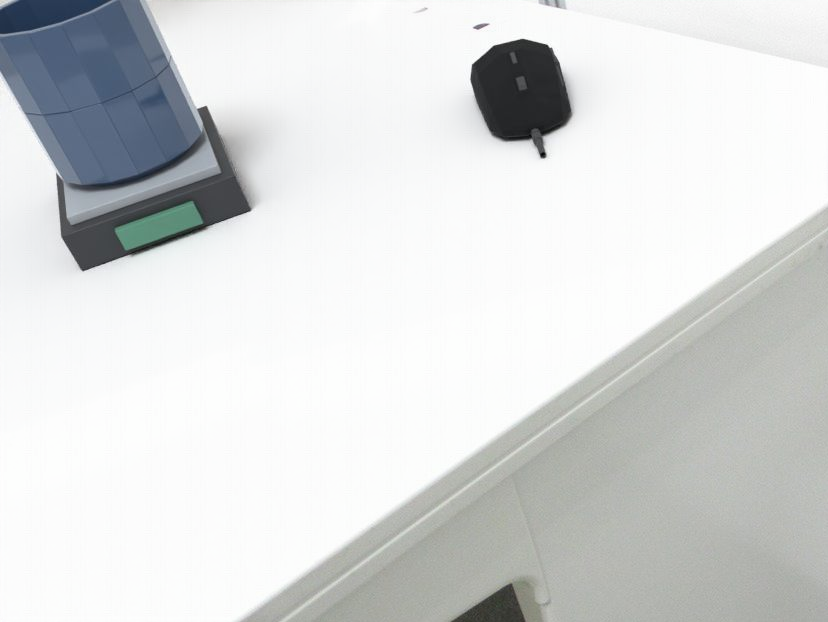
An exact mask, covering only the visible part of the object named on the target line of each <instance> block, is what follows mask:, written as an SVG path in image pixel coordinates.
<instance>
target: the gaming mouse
mask: <svg viewBox="0 0 828 622" xmlns="http://www.w3.org/2000/svg"><path fill="white" fill-rule="evenodd" d="M469 80H470V85H471V88H472V91H473V95H474V98H475V101H476V104H477V106H478V108H479V110H480V113H481V115H482V117H483V120H484V122H485V124H486V126H487V128H488V129H489V131H490V133H492V134H494V135H497V136H499V137H503V138H505V139H506V138H517V137H527V136H531V139H532V142H533V144H534V145H535V146H536V148H537V151H538V154H539V156H540V158H543V159H544V158H546V157H547V152H546V150H545V147H544V144H543V141H544V139H543V136H542V132H546V131H548V130H550V129H552V128H554V127H556V126H558V125H561V124H562V123H564V122H565V120H566V119H567V118H568V116H569V115H570V113H571V111H572V107H571V102H570V98H569V97H570V96H569V94H568V89H567V86H566V82H565V78H564V74H563V71H562V66H561V63H560V60H559V59H558V57H557V56H556V54H555V51H554V49H553V47H552V46H551V47H550V46H549V45H548V44H546V43H543V42H538V41H534V40H531V39H526V38H519V39H516V40H510V41H506V42H503V43H499V44H494V45H492V46H491V47H490V48H489V49H488V50H487V51H486V52H485V53H483V54H482V55H481V56H480V57H478V59H476V60H475V61H473V63H471V69H470V79H469Z"/></svg>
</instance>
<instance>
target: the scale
mask: <svg viewBox="0 0 828 622" xmlns="http://www.w3.org/2000/svg"><path fill="white" fill-rule="evenodd" d="M195 107H196V109H197V111H198V113H199V115H200V118H201V120H202V122H203V128H202V134H201V136H200V137H199V138H198V139H197V140H196V141H195V142H194V143H193V144H192V146H191V148H190V149H189V150H188V151H187V152H186V153H185V154H184V155H183V156H182V157H181V158H179V159H178V160H176V161H175V162H174V163H172V164H170V165H169V166H167V167H165V168H163V169H161V170H159V171H157V172H155V173H152V174H150V175H148V176H145V177H142V178H139V179H136V180H133V181H130V182H126V183H121V184H116V185H110V186H89V185H79V184H73V183H67V182H64V181H63V180H62V179H61V178H60V177H59V175H58V174H57V173H56V172H55V179H56V191H57V203H58V204H57V205H58V214H59V227H60V237H61V239H62V241H63V243H64V245H65V246H66V248H67V249H68V251H69V252H70V254H71V256H72V257H73V259H74V261H75V262H76V264H77V266H78V267H79V269H80V271H83V272H84V271H85V270H87V269H91V268H94V267H96V266H99V265H102V264H104V263H107V262H110V261H113V260H117V259H119V258H121V257H124V256H128V255H130V254H133V253H135V252H138V251H141V250H144V249H146V248H147V249H148V248H149V247H152V246H155V245H158V244H160V243H163V242H165V241H169V240H172V239H174V238H177V237H180V236H183V235H186V234H188V233H191V232H194V231H197V230H199V229H203V228H205V227H208V226H211V225H213V224H216V223H218V222H222V221H224V220H227V219H229V218H233V217H236V216H238V215H241V214H244V213H247V212H249V211H251V209H252V208H251V206H250V204H249V201H248V199H247V197H246V194H245V192H244V189H243V187H242V185H241V182H240V180H239V176H238V175H237V172H236V170H235V168H234V164H233V162H232V159H231V158H230V155H229V152H228V149H227V148H226V145H225V143H224V141H223V137H222V136H221V134H220V132H219V130H218V127H217V125H216V123H215V120H214V119H213V115H212V113H211V112H210V110H209V108H208V106H207V105H204V106H202V107H198V108H197V106H196V105H195Z"/></svg>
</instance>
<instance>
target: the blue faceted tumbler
mask: <svg viewBox="0 0 828 622" xmlns="http://www.w3.org/2000/svg"><path fill="white" fill-rule="evenodd" d="M0 78H1V80H2V82H3V84H4V85H5V87H6V89H7V90H8V93H9V94H10V96H11V97H12V99H13V101H14V102H15V104H16V106H17V108H18V110H19V111H20V113H21V115H22V117H23V118H24V120H25V122H26V123H27V125H28V127H29V128H30V130H31V132H32V133H33V135H34V137H35V139H36V140H37V142H38V144H39V146H40V148H41V150H42V151H43V153H44V154H45V156H46V158H47V160H48V161H49V162H50V165H51V166H52V168H53V169H54V172H55V174H56V173H57V174H58V175H59V177H60V178H61V179H62V180H63V181H64V182H67V183H73V184H79V185H89V186H110V185H116V184H121V183H126V182H130V181H133V180H136V179H139V178H142V177H145V176H148V175H150V174H152V173H155V172H157V171H159V170H161V169H163V168H165V167H167V166H169V165H170V164H172V163H174V162H175V161H176V160H178V159H179V158H181V157H182V156H183V155H184V154H185V153H186V152H187V151H188V150H189V149H190V148H191V146H192V144H193V143H194V142H195V141H196V140H197V139H198V138H199V137H200V136H201V134H202V128H203V122H202V120H201V118H200V115H199V113H198V111H197V109H198V108H197V106H196V105H195V103H194V101H193V99H192V96H191V94H190V92H189V90H188V88H187V85H186V84H185V82H184V79H183V77H182V75H181V72H180V70H179V69H178V66H177V64H176V62H175V60H174V58H173V55H172V53H171V51H170V49H169V46H168V45H167V42H166V41H165V38H164V36H163V34H162V32H161V29H160V28H159V25H158V23H157V21H156V18H155V16H154V14H153V12H152V11H151V8H150V6H149V4H148V2H147V0H11V1H8V2H7V3H4V4H2V5H1V6H0ZM195 106H196V107H195ZM196 108H197V109H196Z"/></svg>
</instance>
